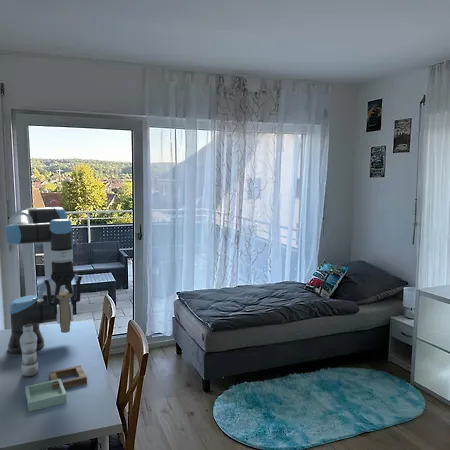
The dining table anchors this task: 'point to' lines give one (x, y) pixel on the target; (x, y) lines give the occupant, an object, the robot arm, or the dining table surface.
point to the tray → (45, 395)
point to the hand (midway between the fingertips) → (65, 321)
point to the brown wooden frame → (68, 383)
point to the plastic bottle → (29, 351)
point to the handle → (64, 311)
